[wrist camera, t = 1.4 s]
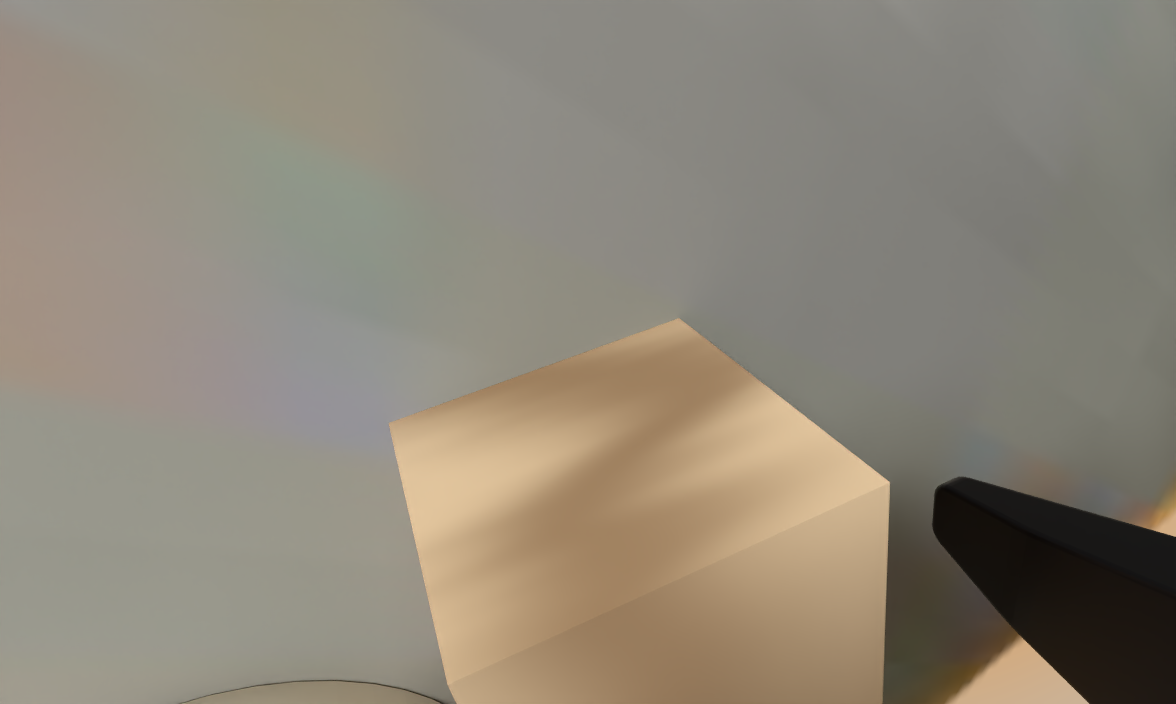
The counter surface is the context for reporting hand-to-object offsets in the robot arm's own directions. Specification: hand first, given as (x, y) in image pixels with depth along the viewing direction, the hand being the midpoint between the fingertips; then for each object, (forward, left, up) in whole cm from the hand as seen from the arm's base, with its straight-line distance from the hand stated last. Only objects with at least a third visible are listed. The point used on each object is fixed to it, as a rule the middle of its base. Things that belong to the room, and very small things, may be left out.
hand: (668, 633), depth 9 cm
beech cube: (0, 0, -4) cm, 4 cm away
